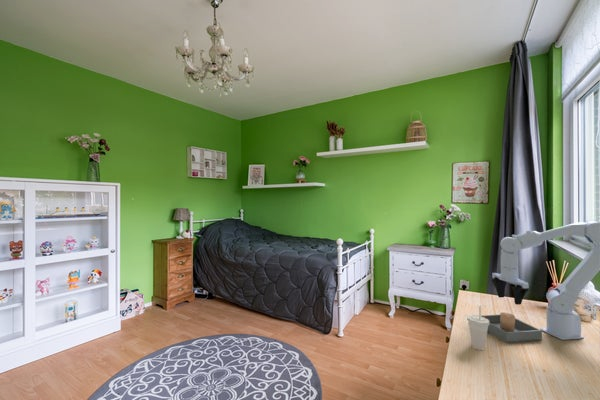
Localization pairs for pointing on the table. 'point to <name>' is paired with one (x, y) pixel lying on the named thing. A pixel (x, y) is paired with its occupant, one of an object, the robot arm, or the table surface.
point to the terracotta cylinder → (507, 322)
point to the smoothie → (478, 330)
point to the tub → (521, 333)
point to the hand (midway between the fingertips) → (509, 300)
